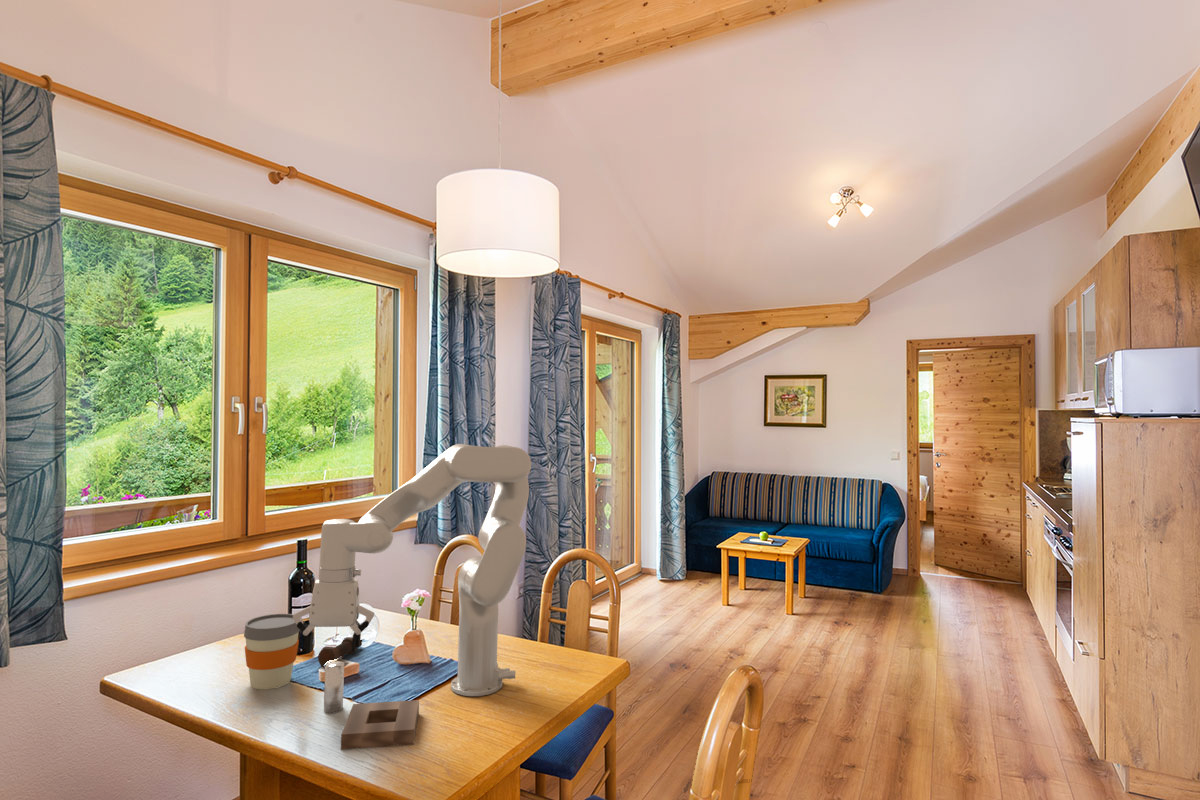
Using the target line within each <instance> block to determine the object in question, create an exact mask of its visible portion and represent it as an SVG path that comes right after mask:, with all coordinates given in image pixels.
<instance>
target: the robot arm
mask: <svg viewBox="0 0 1200 800" xmlns="http://www.w3.org/2000/svg"><path fill="white" fill-rule="evenodd" d="M531 470H532V460H531V457H530V455H529V454H528V453H527V452H526V451H525V450H524V449H522V448H521V447H516V446H511V445H508V444H506V445H504V444H503V445H497V446H482V445H481V446H478V445H472V444H464V443H456V444H454V445H451V446H450V447H448V448H447V449H446V450H444V451H443V452H442V453H440V455H438V457H436V458H435V459H434V460H432V461H431V462H430V463H429V464H428V465H427V466H426V467H424V468H423V469H422V470H421V471H419V472H418V473H417V474H416V475H415V476H414V477H412V478H411V479H410V480H408V481H407V482H405V483H404V484H402V485H401V486H399V488H397V489H396V490H394V491H393V492H392V493H390V494H389V495H387V496H386V497H385V498H384V499H382V500H381V501H379V502H378V503H377V504H376V505H375V506H374V507H372V508H371V509H370V510H369V511H368V512H366V513H365V514H364V515H363V516H362V517H360V518H359V520H358V522H355V521H354V520H352V519H347V518H334V519H328V520H325V521H324V522H323V524H322V526H321V535H320V551H319V566H318V578H317V579H316V580H315V582H314V585H313V590H312V593H311V594H312V595H311V601H310V605H309V606H307V607H304V608H302V609H300V610H298V611H296V612H295V613H294V614H293V619H294V621H295V623H296V624H297V627H298V628H299V629H300V632H301V633H302V635H303V636H304V639H303V641H304V642H303V649H305V653H306V654H308V655H309V654H310V653H311V652H312V651H313V649H314V648H313V647H314V631H313V630H314V629H315V628H336V627H337V628H340V627H341V628H344V627H345V628H346V627H347V628H348V627H350V629H351V630H352V631H353V634H352V637H353V639H352V652H353V653H354V654H355V653H356V652H357V650H358V649H357V647H359V648H361V646H360V639H361V636H362V632H363V631H364V630H366V629H367V628H368V626H369V625H370V623H371V622H372V620H373V618H374V617H375V612H374V611H372V610H370V609H368V608H366V607H364V606H362V605H360V588H359V587H360V586H359V579H358V578H356V577H357V576H360V577H361V575H362V569H357V567H356V553H364V554H374V555H375V554H379V553H382V552H385V551H387V549H389V547H390V546H391V545H392V543H393V541H394V540H393V539H394V533H393V531H394V530H395V529H396V528H397V527H398V526H400V525H401V524H402V523H404V522H405V521H406V520H408V519H409V518H410V517H412V516H414V515H416V514H418V513H422V512H424V511H428V510H431V509H432V508H434V507H435V506H436V505H438V504H439V503H440V502H441V501H443V500H444V499H445V498H446V497H447V496H448V495H450V493H451V492H453V491H454V490H455V489H456V488H457V487H459V485H461V484H462V483H463V482H469V483H470V482H471V483H472V482H473V483H495V490H494V495H493V499H492V500H491V504H490V505H489V506H490V507H489V509H488V512H487V513H486V516H485V518H484V521H483V523H482V525H481V528H480V529H479V532H478V538H477V539H478V543H479V546H480V547H481V548H482V549H483V553H482V556H473V557H471V558H469V559H467V560H466V561H465V562H464V563H463V564H462V565H461V567H460V570H459V571H458V576H457V579H458V580H457V588H458V591H457V592H458V601H459V603H458V605H459V606H458V607H459V609H458V610H459V611H458V612H459V613H458V614H459V617H458V621H459V622H458V642H457V643H458V644H457V645H458V651H457V676H456V677H454V678H453V679H452V680H451V682H450V689H451V691H452V692H453V693H455V694H457V695H459V696H460V695H461V696H464V697H465V696H466V697H483V696H487V695H491V694H495V693H496V692H498V691H500V689H502V687H503V682H504V681H503V680H506V679H507V680H513V679H514V680H515V679H516V670H511V668H510V667H506V668H501V667H499V663H498V639H499V637H498V633H499V632H498V631H499V604H500V603H501V602H503V600H504V599H505V598H506V597H507V596H508V594H509V591H510V590H511V587H512V585H513V583H514V580H515V578H516V575H517V573H518V572H519V571H518V570H519V568H520V565H521V563H522V561H523V558H524V556H525V552H526V547H527V537H526V533H525V532H524V529H523V527H521V526H520V524H521V521H522V518H523V516H524V513H525V510H526V508H527V504H528V499H529V496H530V495H529V494H530V486H529V481H528V479H529V478H528V476H529V474H530V472H531ZM306 615H309V616H308V623H309V624H307V623H306V622H305V621H304V620H303V617H305V616H306ZM360 615H362V616H365V620H363V622H362V623H360V622H359V621H358V619H359V616H360Z"/></svg>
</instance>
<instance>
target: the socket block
mask: <svg viewBox="0 0 1200 800" xmlns="http://www.w3.org/2000/svg"><path fill="white" fill-rule="evenodd" d="M419 708H420V699H416V700H415V699H414V700H412V699H411V700H396V701H383V702H382V701H381V702H379V701H378V702H367V703H366V702H365V703H364V702H363V703H353V704H352V706H351V709H350V711H349V714H348V715H347V719H346V721H345V725H344V727H343V729H342V732H341V735H340V750H343V751H344V750H354V749H369V748H382V747H393V746H394V747H395V746H397V747H398V746H410V745H414V744H415V737H416V733H417V727H418V726H417V725H418V719H419V716H420V715H419V713H420V711H419V710H420V709H419Z"/></svg>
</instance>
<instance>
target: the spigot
mask: <svg viewBox="0 0 1200 800" xmlns="http://www.w3.org/2000/svg"><path fill="white" fill-rule="evenodd" d="M344 679H345V662H343V661H339V660H338V661H335V662H330V663H327V664H326V665H325V667H324V690H323V693H324V694H323V713H325V714H335V713H339V712H342V710H343V709H344V688H345V687H344V682H345V681H344Z"/></svg>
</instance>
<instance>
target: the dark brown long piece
mask: <svg viewBox="0 0 1200 800" xmlns="http://www.w3.org/2000/svg"><path fill="white" fill-rule="evenodd" d="M352 639H353V636H352V637H351V636H348V637H347V636H346V637H344V639H342V641H341V642H340V644H338V645H336V646H327V645H326V646H325V645H324V646H323V647H322V649H321V650H320V651H319V653H318V656H317V661H318V663H319V665H320V666H321V667H322V666H323V665H324V664H325V663H326V662H327V661H329V660H334V659H337V658H339V657H340V656H342V657H344V656H346V655H353V654H355V653H353V652H352ZM362 646H363V639H362V640H360V647H362ZM360 647H357V650H358V648H360ZM339 659H340V658H339Z"/></svg>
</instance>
